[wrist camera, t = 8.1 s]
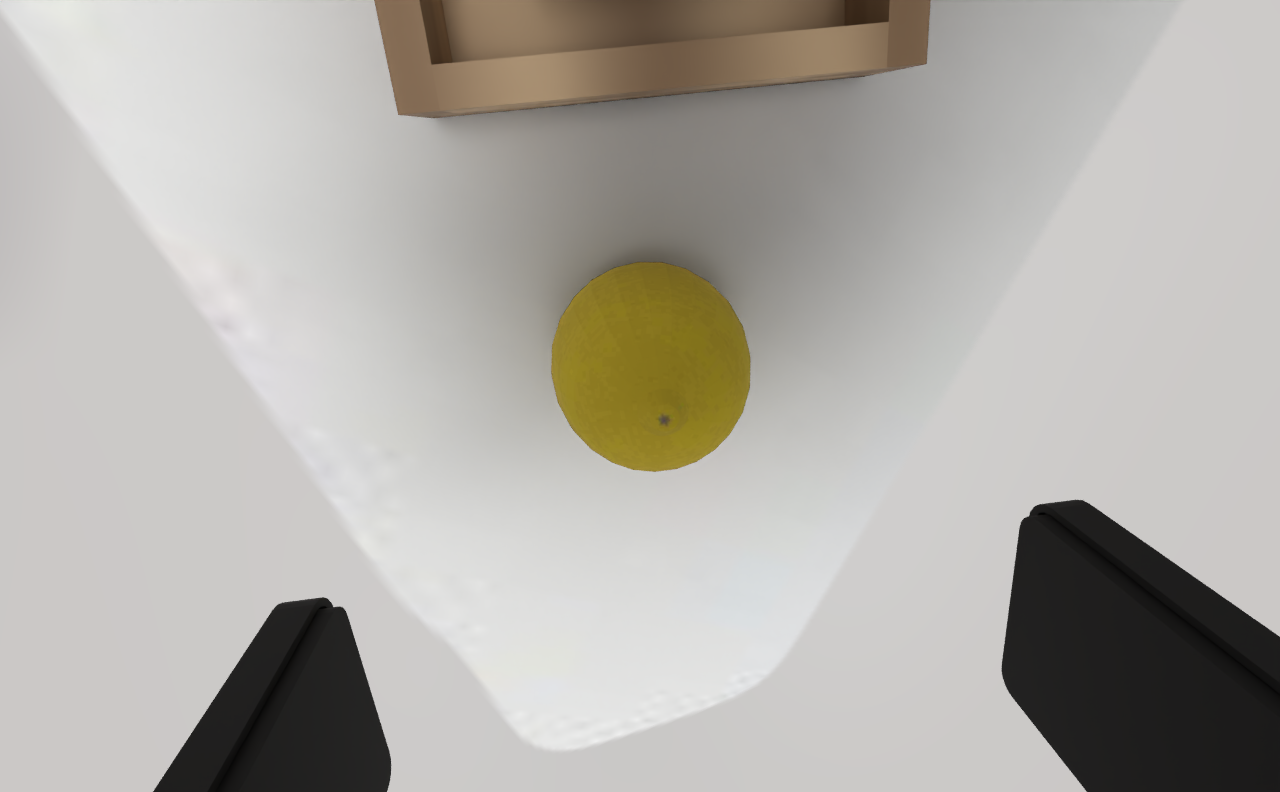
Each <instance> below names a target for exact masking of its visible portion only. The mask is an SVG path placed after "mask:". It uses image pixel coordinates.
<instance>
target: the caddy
mask: <svg viewBox="0 0 1280 792" xmlns="http://www.w3.org/2000/svg"><path fill="white" fill-rule="evenodd" d="M374 1H375V6H376V10H377V15H378V20H379V25H380V29H381V34H382V39H383V44H384V49H385V53H386V58H387V63H388V68H389V72H390V77H391V82H392V87H393V92H394V96H395V101H396V106H397V111H398V115H406V116H417V117H427V118H440V117H450V116H461V115H471V114H481V113H492V112H502V111H512V110H523V109H533V108H543V107H554V106H564V105H574V104H585V103H595V102H605V101H616V100H626V99H636V98H647V97H657V96H667V95H678V94H688V93H698V92H709V91H719V90H729V89H740V88H750V87H760V86H771V85H781V84H792V83H802V82H812V81H823V80H833V79H843V78H854V77H864V76H869V75H874V74H879V73H884V72H889V71H894V70H899V69H904V68H909V67H913V66H918V65H923V64H926V63H927V47H928V31H929V15H930V0H374Z"/></svg>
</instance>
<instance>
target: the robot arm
mask: <svg viewBox="0 0 1280 792" xmlns="http://www.w3.org/2000/svg"><path fill="white" fill-rule="evenodd" d="M1011 591H1012V592H1011V598H1010V606H1009V613H1008V621H1007V629H1006V637H1005V644H1004V652H1003V660H1002V675H1003V679H1004V682H1005V685H1006V687H1007V689H1008V691H1009V693H1010V694H1011V696H1012V697H1013V699H1014V700H1015V701H1016V702H1017V704H1018V705H1019V706H1020V707H1021V709H1022V710H1023V711H1024V712H1025V714H1026V715H1027V716H1028V718H1029V719H1030V720H1031V721H1032V722H1033V724H1034V725H1035V726H1036V728H1037V729H1038V730H1039V731H1040V732H1041V734H1042V735H1043V737H1044V738H1045V739H1046V740H1047V742H1048V743H1049V744H1050V745H1051V747H1052V748H1053V749H1054V750H1055V752H1056V753H1057V754H1058V756H1059V757H1060V758H1061V759H1062V761H1063V762H1064V763H1065V764H1066V766H1067V767H1068V768H1069V770H1070V771H1071V772H1072V773H1073V775H1074V776H1075V777H1076V778H1077V780H1078V781H1079V782H1080V783H1081V784H1082V786H1083V787H1084V788H1085V790H1086V791H1087V792H1280V637H1279V636H1278V635H1276V634H1275V633H1273V632H1272V631H1270V630H1269V629H1268V628H1266V627H1265V626H1263V625H1262V624H1261V623H1259V622H1258V621H1256V620H1255V619H1253V618H1252V617H1251V616H1249V615H1248V614H1246V613H1245V612H1243V611H1242V610H1240V609H1239V608H1238V607H1236V606H1235V605H1233V604H1232V603H1231V602H1229V601H1228V600H1226V599H1225V598H1223V597H1222V596H1220V595H1219V594H1218V593H1216V592H1215V591H1213V590H1212V589H1211V588H1209V587H1208V586H1206V585H1205V584H1203V583H1202V582H1200V581H1199V580H1198V579H1196V578H1195V577H1193V576H1192V575H1190V574H1189V573H1188V572H1186V571H1185V570H1183V569H1182V568H1180V567H1179V566H1178V565H1176V564H1175V563H1173V562H1172V561H1170V560H1169V559H1168V558H1166V557H1165V556H1163V555H1162V554H1160V553H1159V552H1158V551H1156V550H1155V549H1153V548H1152V547H1150V546H1149V545H1148V544H1146V543H1144V542H1143V541H1142V540H1140V539H1139V538H1137V537H1136V536H1135V535H1133V534H1132V533H1130V532H1129V531H1128V530H1126V529H1125V528H1123V527H1122V526H1120V525H1119V524H1118V523H1116V522H1115V521H1113V520H1112V519H1110V518H1109V517H1107V516H1106V515H1105V514H1103V513H1102V512H1100V511H1099V510H1097V509H1096V508H1095V507H1093V506H1091V505H1090V504H1088V503H1087V502H1085V501H1083V500H1071V501H1063V502H1055V503H1047V504H1040V505H1037V506H1035V507H1034V508H1033V509H1032V511H1031V512H1030V515H1029V517H1026V518H1024V519H1023V520H1022V522H1021V525H1020V529H1019V537H1018V544H1017V553H1016V560H1015V567H1014V575H1013V583H1012V590H1011ZM390 776H391V758H390V753H389V749H388V746H387V743H386V739H385V737H384V733H383V730H382V726H381V723H380V720H379V717H378V713H377V710H376V707H375V704H374V700H373V697H372V694H371V691H370V687H369V684H368V681H367V678H366V674H365V671H364V668H363V665H362V661H361V658H360V655H359V651H358V648H357V645H356V642H355V638H354V635H353V632H352V629H351V625H350V622H349V619H348V616H347V613H346V611H345V610H344V609H343V608H342V607H333V605H332V603H331V602H330V601H329V600H328V599H327V598H315V599H307V600H300V601H292V602H285V603H281V604H278V605H277V606H276V607H275V608H274V610H272V612H271V614H270V615H269V617H268V618H267V620H266V621H265V623H264V624H263V626H262V627H261V629H260V630H259V632H258V633H257V635H256V636H255V638H254V639H253V641H252V642H251V644H250V645H249V647H248V649H247V650H246V652H245V653H244V654H243V656H242V658H241V659H240V661H239V662H238V664H237V665H236V667H235V668H234V670H233V671H232V673H231V674H230V676H229V677H228V679H227V680H226V682H225V683H224V685H223V686H222V688H221V689H220V691H219V693H218V694H217V696H216V697H215V699H214V700H213V702H212V703H211V705H210V706H209V708H208V709H207V711H206V712H205V714H204V715H203V717H202V718H201V720H200V721H199V723H198V724H197V726H196V727H195V729H194V731H193V732H192V733H191V735H190V737H189V738H188V740H187V741H186V743H185V744H184V746H183V747H182V749H181V750H180V752H179V753H178V755H177V756H176V758H175V759H174V761H173V762H172V764H171V765H170V767H169V769H168V770H167V771H166V773H165V774H164V776H163V778H162V779H161V781H160V782H159V784H158V785H157V787H156V788H155V790H154V791H153V792H387V790H388V786H389V782H390Z"/></svg>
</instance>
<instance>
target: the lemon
mask: <svg viewBox="0 0 1280 792" xmlns="http://www.w3.org/2000/svg"><path fill="white" fill-rule="evenodd" d="M551 374H552V379H553V383H554V387H555V392H556V396H557V400H558V403H559V405H560V407H561V409H562V411H563V413H564V415H565V417H566V418H567V420H568V422H569V424H570V426H571V428H572V429H573V430H574V431H575V433H576V434H577V435H578V436H579V437H580V438H581V439H582V440H583V441H584V442H585V443H586V444H587V445H588V446H589V447H590V448H591V449H592V450H593V451H595V452H596V453H598V454H600V455H601V456H603V457H604V458H606V459H607V460H609V461H611V462H613V463H615V464H618V465H621V466H624V467H627V468H630V469H633V470H642V471H653V472H656V471H664V470H672V469H677V468H680V467H683V466H686V465H688V464H691V463H694V462H697V461H698V460H700V459H701V458H703V457H704V456H706V455H707V454H709V453H710V452H712V451H714V450H715V449H716V448H717V447H718V446H719V445H720V444H721V443H722V442H723V441H724V440H725V439H726V438H727V436H728V435H729V434H730V433H731V431H732V430H733V428H734V426H735V424H736V423H737V421H738V419H739V418H740V416H741V414H742V413H743V410H744V406H745V402H746V399H747V395H748V392H749V388H750V353H749V349H748V345H747V341H746V337H745V333H744V329H743V326H742V324H741V323H740V321H739V319H738V317H737V316H736V314H735V312H734V310H733V309H732V307H731V305H730V303H729V302H728V301H727V300H726V299H725V298H724V297H723V296H722V295H721V294H720V293H719V292H718V291H717V290H716V289H715V288H714V287H713V286H712V285H711V284H710V283H709V282H708V281H706V280H704V279H703V278H701V277H699V276H697V275H696V274H694V273H692V272H691V271H689V270H687V269H685V268H681V267H677V266H674V265H670V264H666V263H663V262H636V263H632V264H628V265H624V266H620V267H616V268H613V269H611V270H609V271H607V272H606V273H604V274H602V275H600V276H598V277H596V278H595V279H593V280H592V281H590V282H589V283H588V284H587V285H586V286H585V287H584V288H583V289H582V290H581V291H580V292H579V293H578V294H577V295H576V296H575V297H574V298H573V300H572V301H571V303H570V304H569V306H568V308H567V309H566V311H565V312H564V314H563V315H562V317H561V319H560V322H559V325H558V328H557V331H556V334H555V337H554V341H553V344H552V366H551Z"/></svg>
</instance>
